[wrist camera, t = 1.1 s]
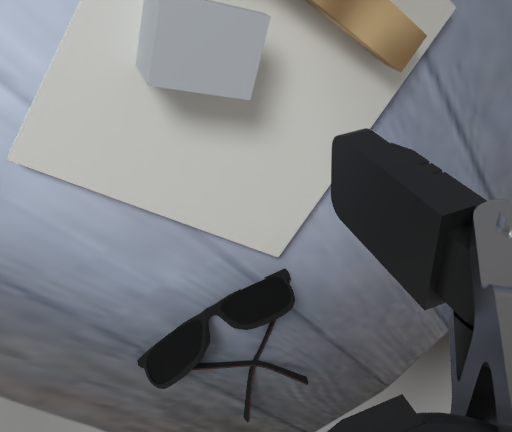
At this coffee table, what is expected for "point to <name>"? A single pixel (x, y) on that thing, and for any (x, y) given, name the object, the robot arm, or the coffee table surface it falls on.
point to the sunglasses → (236, 315)
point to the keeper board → (210, 108)
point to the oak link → (375, 28)
